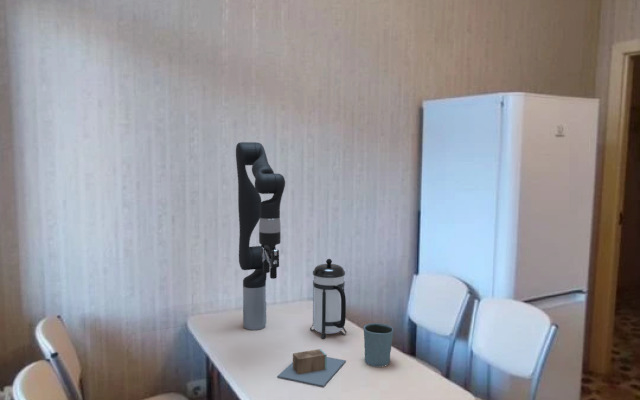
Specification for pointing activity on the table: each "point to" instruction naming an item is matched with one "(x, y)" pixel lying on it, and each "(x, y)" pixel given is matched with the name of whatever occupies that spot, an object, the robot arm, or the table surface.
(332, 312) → the coffee press
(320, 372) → the mat
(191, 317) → the table surface
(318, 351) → the walnut block
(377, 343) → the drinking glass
